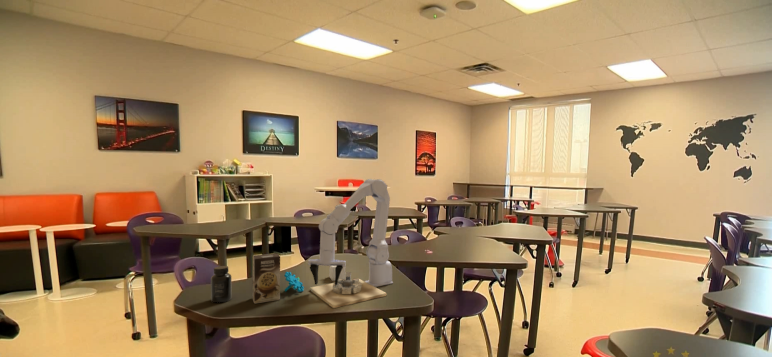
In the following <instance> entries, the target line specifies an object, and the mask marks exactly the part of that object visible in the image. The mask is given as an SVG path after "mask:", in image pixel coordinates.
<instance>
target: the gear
mask: <svg viewBox="0 0 772 357" xmlns="http://www.w3.org/2000/svg"><path fill="white" fill-rule="evenodd" d="M283 276H284V278H285V281H286V282H288V285H287V287H286V288H284V292H287V291H288V290H290V288H292V289H293V290H295V291H297V292H298V293H302V292H304V290H305V287H304V286H303V285H304V284H303V282H301V281H300V280H301V279H300V277H299V276H297V277H296V274H294V273H293V274H292V272H291V271H285V273H284V275H283Z"/></svg>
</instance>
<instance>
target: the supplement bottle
mask: <svg viewBox="0 0 772 357" xmlns="http://www.w3.org/2000/svg"><path fill="white" fill-rule="evenodd" d="M232 289H233V288H232V275H231V274H230V273H229V266H227V265H221V266H219V265H218V266H216V267H214V268H213V275H212V276H211V277H210V299H211V300H210V301H211V302H212V301H213V302H217V303H216V304H221V303H220V302H223V303H227V302H229V301H230V300H231V299H232V295H233V294H232V293H233V292H232ZM226 301H227V302H226ZM213 302H212V303H213ZM218 302H219V303H218Z"/></svg>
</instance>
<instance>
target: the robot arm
mask: <svg viewBox="0 0 772 357" xmlns="http://www.w3.org/2000/svg"><path fill="white" fill-rule="evenodd" d="M369 196H371V197H372V198H373V199H374V200H375V201H376V206H375V216H374V224H373V231H372V237H371V239H370V240H369V243H368V246H367V248H366V252H365V254H366V257H367V258H368V280H365V281H364V282H366V283H368V284H370V285H372V286H374V287H376V288H377V287H381V286H387V285H391V284H394V281H393V267H392V263H391V262H390V261H389V259H390V253H389V245H388V243H387V241H386V236H387V228H388V218H389V210H390V202H391V197H390V194H389V191H388V184H387V183H386V182H385V181H384V180H382V179H380V178H379V179H375V178H374V179H372V178H367V179H366V180H365V181H364V182H363V183H361V184H359V187H358V188H357V189H356V190H355V191H354V192H353V193H352V195H351V196H349V198H348V199H347V200H346V201H345V202H344V203H341V204H340V203H339V204H337V205H336V206H334V209H333V210H331V212H330V213H329V214H327V215H326V217H325V218H323V219H321V221H319V224H318V229H319V231H320V239H319V240H320V241H319V243H320V244H319V259H318V258H315V259H314V258H313V259H308V260H307V266H309V270H310V272H311V274H312V277H313V280H314V285H317V286H318V283H319V266H325V267H326V266H337V267H336V268H335V281H334V283H335V285H337V283H338V279H339V276H340V273H341V271H342V268H343V267H345V266H347V261H346V260H341V259H335V256H336V254H335V253H336V252H335V251H336V232H338V230H339V226H340V225H341V224H342V223H343V222H344V221H345V220H346V219H347V218H348V217H349V216H350V214H351V209H353V208H354V207H355V206H356V205H357V204H358V203H359V202H360V201H361V200H362V199H364V198H365V197H369Z"/></svg>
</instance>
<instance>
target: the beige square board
mask: <svg viewBox="0 0 772 357" xmlns="http://www.w3.org/2000/svg"><path fill="white" fill-rule="evenodd" d="M353 279H358V281H360V282H361V283H362V290H361V291H360V292H357V293H354V294H353V293H351V294H342V293H341V294H338V293H335V292H333V283H334V282H332V283H327V284H321V285H317V286H312V287H311V286H310V288H309V291H310V292H312V293H313V294H314V295H315V296H317V297H318V298H319V299H320V300H322V301H323V302H324V303H326V304H327V305H329V306H330V307H331V308H332V309H335V308H340V307H344V306H349V305H352V304H358V303H362V302H365V301H370V300H374V299H378V298H379V299H380V298H382V297H386V296H387V295H388V294H387V292H385V291H383V290H381V289H379V288H377V287H374V286H372V285H370V284H368V283H366V282H365V281H364V280H362V279H360V278H355V277H354V278H353ZM351 280H352V279H351ZM351 280H346V279H344V280H343V287H350V286H352V281H351Z"/></svg>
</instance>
